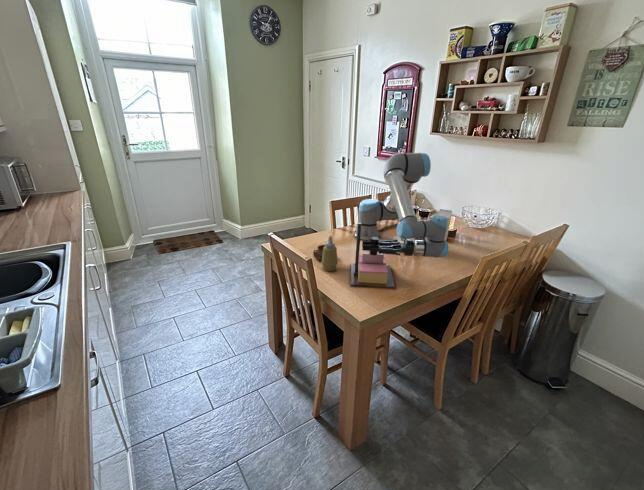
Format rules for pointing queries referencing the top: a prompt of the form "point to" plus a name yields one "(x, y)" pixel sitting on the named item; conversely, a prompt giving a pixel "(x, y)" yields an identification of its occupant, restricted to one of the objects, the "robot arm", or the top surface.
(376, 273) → the cake
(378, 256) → the cutter
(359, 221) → the robot arm
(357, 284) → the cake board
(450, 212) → the milk carton
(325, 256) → the squeeze bottle
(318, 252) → the cup and saucer
